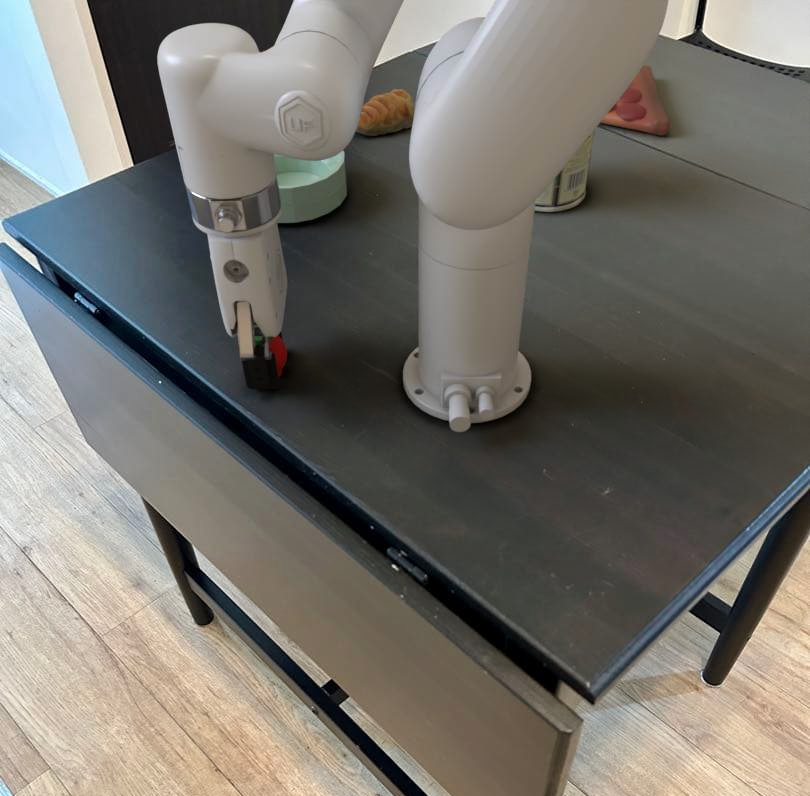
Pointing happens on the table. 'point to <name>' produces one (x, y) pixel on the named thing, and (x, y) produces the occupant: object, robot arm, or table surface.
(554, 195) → the coffee can
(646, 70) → the pizza slice
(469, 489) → the table surface
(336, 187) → the bowl
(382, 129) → the pastry
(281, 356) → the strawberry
